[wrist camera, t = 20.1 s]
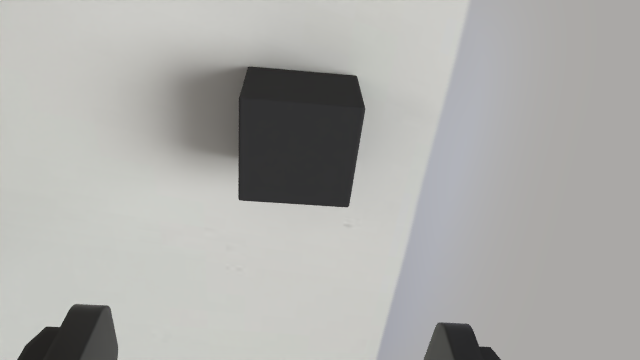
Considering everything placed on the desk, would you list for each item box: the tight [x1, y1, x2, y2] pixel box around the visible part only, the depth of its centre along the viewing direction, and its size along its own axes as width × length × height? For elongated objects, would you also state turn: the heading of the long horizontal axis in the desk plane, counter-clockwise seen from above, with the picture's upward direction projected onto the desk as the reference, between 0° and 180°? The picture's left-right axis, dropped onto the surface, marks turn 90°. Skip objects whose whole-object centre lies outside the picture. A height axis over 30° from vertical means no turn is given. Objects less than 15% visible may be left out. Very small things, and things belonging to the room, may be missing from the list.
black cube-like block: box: [239, 67, 365, 207], centre depth 21 cm, size 5×5×4 cm
